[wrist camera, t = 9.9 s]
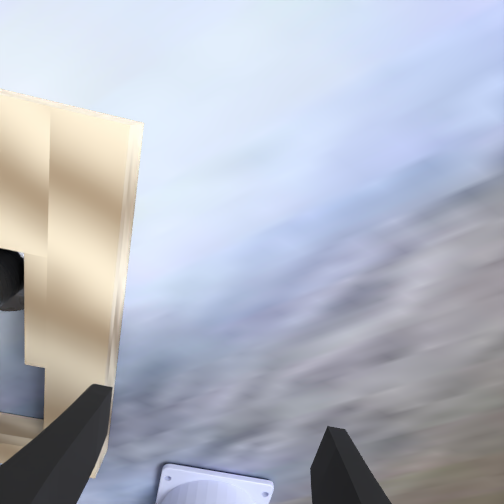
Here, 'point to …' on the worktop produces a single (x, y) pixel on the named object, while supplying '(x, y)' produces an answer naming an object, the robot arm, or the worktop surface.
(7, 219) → the keyhole board
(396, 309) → the worktop surface
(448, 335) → the worktop surface
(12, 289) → the peg
